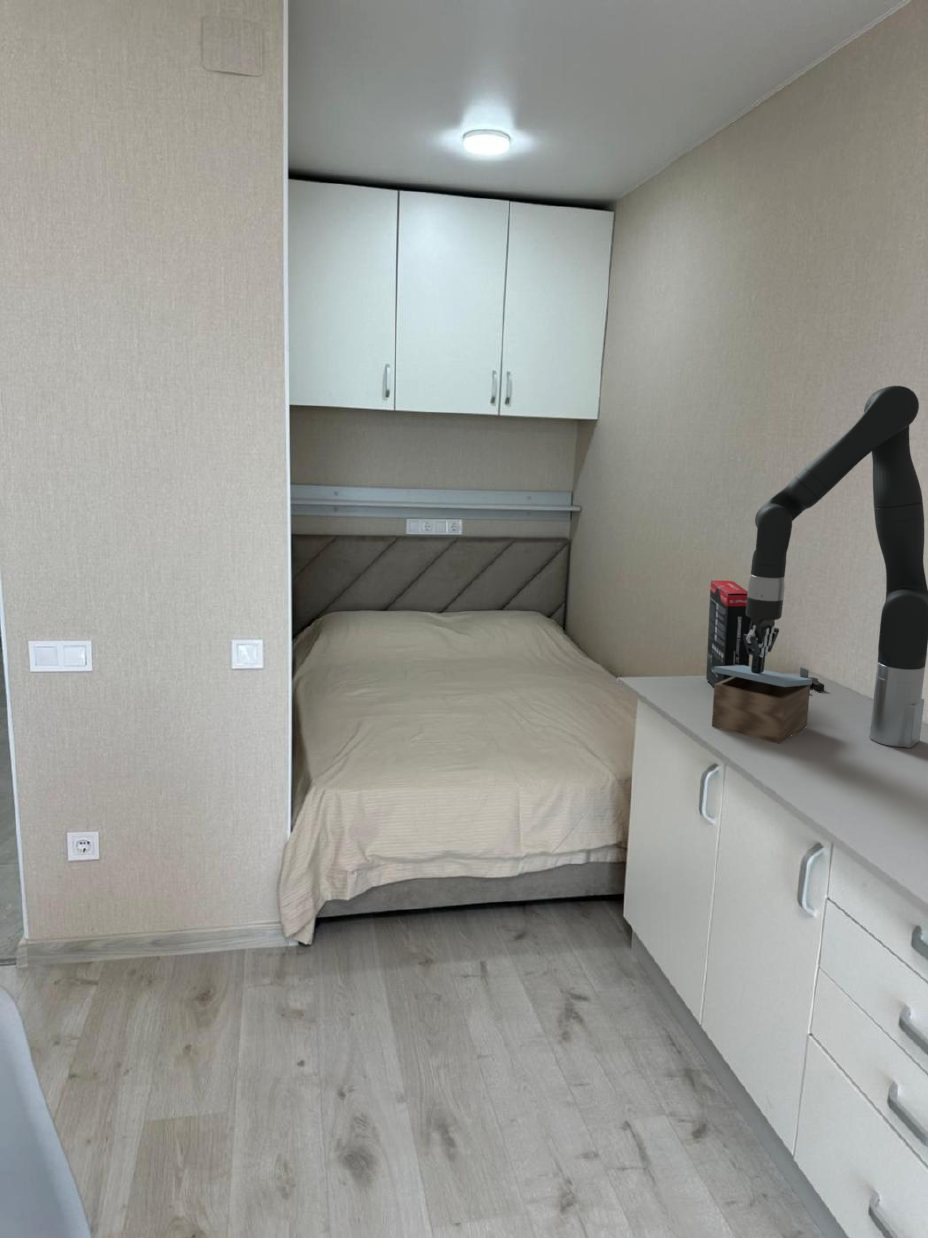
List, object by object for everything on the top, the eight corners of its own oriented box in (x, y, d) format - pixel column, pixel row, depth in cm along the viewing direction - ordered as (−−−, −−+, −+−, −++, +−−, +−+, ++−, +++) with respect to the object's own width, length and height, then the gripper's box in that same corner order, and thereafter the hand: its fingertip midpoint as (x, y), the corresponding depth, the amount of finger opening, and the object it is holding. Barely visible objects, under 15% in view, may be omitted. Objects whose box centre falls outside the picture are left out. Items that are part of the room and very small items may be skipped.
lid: (812, 684, 201) (813, 679, 201) (784, 687, 190) (785, 681, 190) (743, 670, 212) (744, 665, 212) (713, 672, 201) (714, 666, 201)
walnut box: (806, 727, 203) (810, 685, 201) (779, 743, 193) (782, 699, 191) (740, 711, 214) (743, 671, 211) (711, 726, 204) (714, 684, 202)
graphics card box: (748, 700, 222) (756, 592, 216) (720, 700, 222) (727, 592, 216) (729, 680, 239) (735, 579, 232) (703, 680, 239) (709, 579, 232)
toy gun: (770, 683, 237) (772, 666, 236) (818, 685, 235) (820, 667, 234) (776, 694, 227) (778, 676, 226) (826, 697, 225) (828, 678, 224)
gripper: (767, 602, 188) (759, 681, 192) (795, 595, 197) (786, 670, 201) (734, 596, 193) (727, 674, 197) (763, 589, 202) (755, 663, 206)
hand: (757, 672), depth 199 cm, fingers closed
